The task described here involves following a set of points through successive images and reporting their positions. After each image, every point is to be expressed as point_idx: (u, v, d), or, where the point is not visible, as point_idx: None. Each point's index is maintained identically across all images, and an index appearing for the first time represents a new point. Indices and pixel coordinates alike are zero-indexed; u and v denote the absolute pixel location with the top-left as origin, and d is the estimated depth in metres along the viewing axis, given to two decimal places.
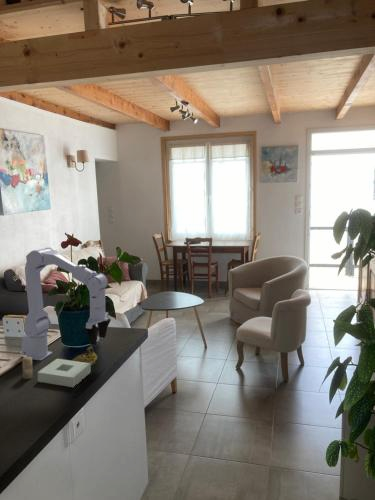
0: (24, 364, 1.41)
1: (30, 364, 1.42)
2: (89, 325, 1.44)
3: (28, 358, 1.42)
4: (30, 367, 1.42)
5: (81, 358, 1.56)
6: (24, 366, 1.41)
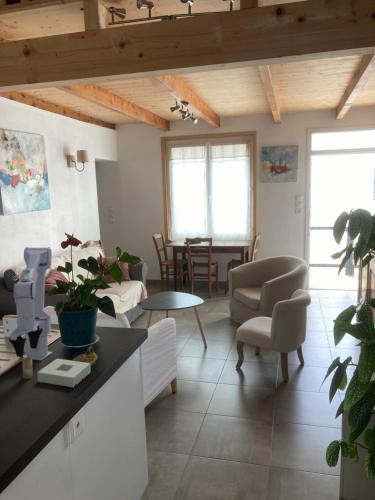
0: (24, 364, 1.41)
1: (30, 364, 1.42)
2: (13, 336, 1.33)
3: (28, 358, 1.42)
4: (30, 367, 1.42)
5: (81, 358, 1.56)
6: (24, 366, 1.41)
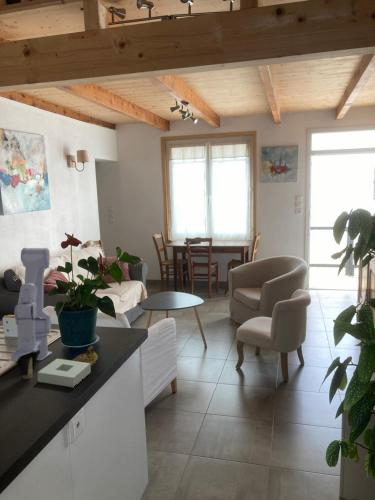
0: None
1: (30, 364, 1.42)
2: (14, 358, 1.35)
3: None
4: (30, 367, 1.42)
5: (82, 358, 1.57)
6: None
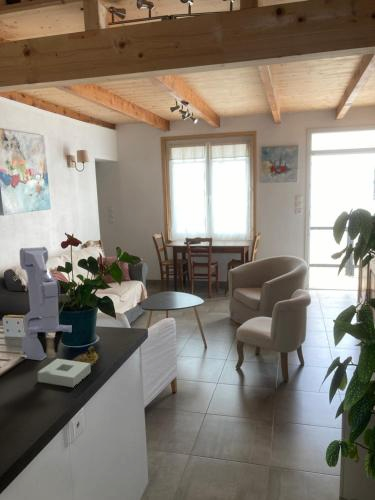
0: None
1: (49, 344, 1.40)
2: (28, 330, 1.39)
3: (51, 337, 1.41)
4: (49, 347, 1.40)
5: (82, 358, 1.57)
6: (46, 344, 1.41)
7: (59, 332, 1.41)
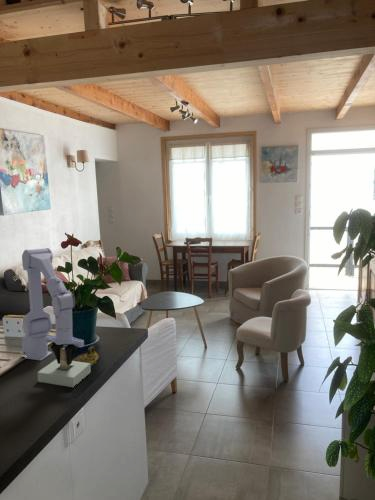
0: None
1: (61, 355, 1.41)
2: None
3: None
4: (61, 358, 1.41)
5: (82, 358, 1.57)
6: None
7: (71, 345, 1.40)
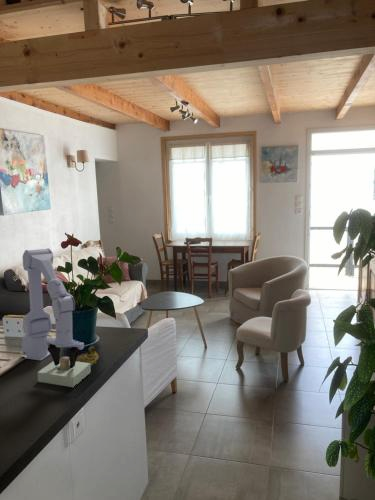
0: None
1: (61, 365, 1.42)
2: None
3: (65, 358, 1.43)
4: (61, 367, 1.42)
5: (82, 357, 1.57)
6: None
7: (71, 348, 1.41)
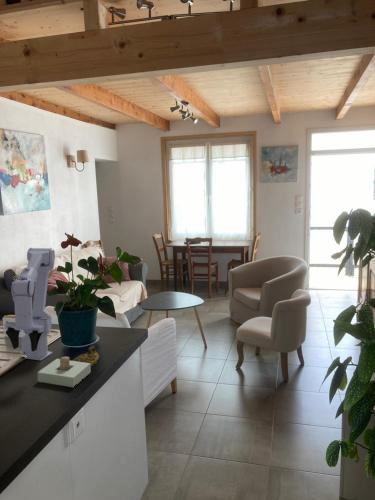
0: None
1: (61, 365, 1.42)
2: None
3: (65, 358, 1.43)
4: (61, 367, 1.42)
5: (83, 357, 1.57)
6: None
7: (30, 331, 1.42)
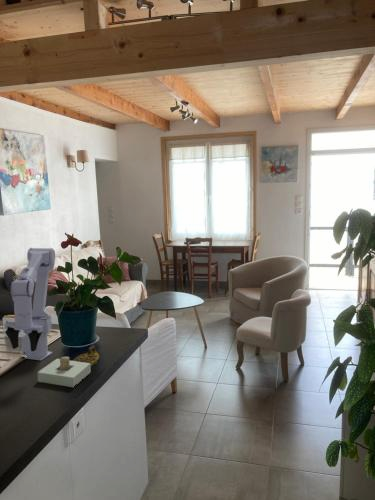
0: None
1: (61, 365, 1.42)
2: None
3: (65, 358, 1.43)
4: (61, 367, 1.42)
5: (83, 357, 1.57)
6: None
7: (30, 331, 1.42)
